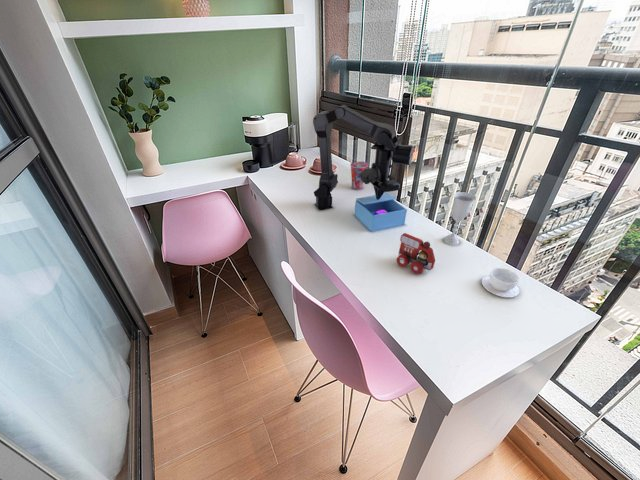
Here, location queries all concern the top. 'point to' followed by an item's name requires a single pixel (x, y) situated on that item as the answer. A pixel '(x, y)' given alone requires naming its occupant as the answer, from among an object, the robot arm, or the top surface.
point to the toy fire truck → (415, 254)
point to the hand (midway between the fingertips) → (377, 199)
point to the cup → (357, 174)
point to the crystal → (380, 212)
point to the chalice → (459, 213)
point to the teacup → (502, 282)
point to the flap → (373, 199)
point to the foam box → (380, 221)
